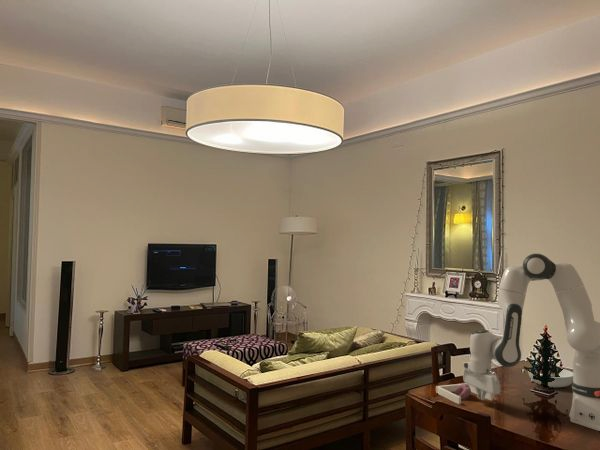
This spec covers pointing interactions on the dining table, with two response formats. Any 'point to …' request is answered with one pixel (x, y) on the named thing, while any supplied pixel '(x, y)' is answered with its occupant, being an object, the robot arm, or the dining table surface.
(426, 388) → the dining table surface
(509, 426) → the dining table surface
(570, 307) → the robot arm
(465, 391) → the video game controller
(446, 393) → the cream bay
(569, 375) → the serving bowl
